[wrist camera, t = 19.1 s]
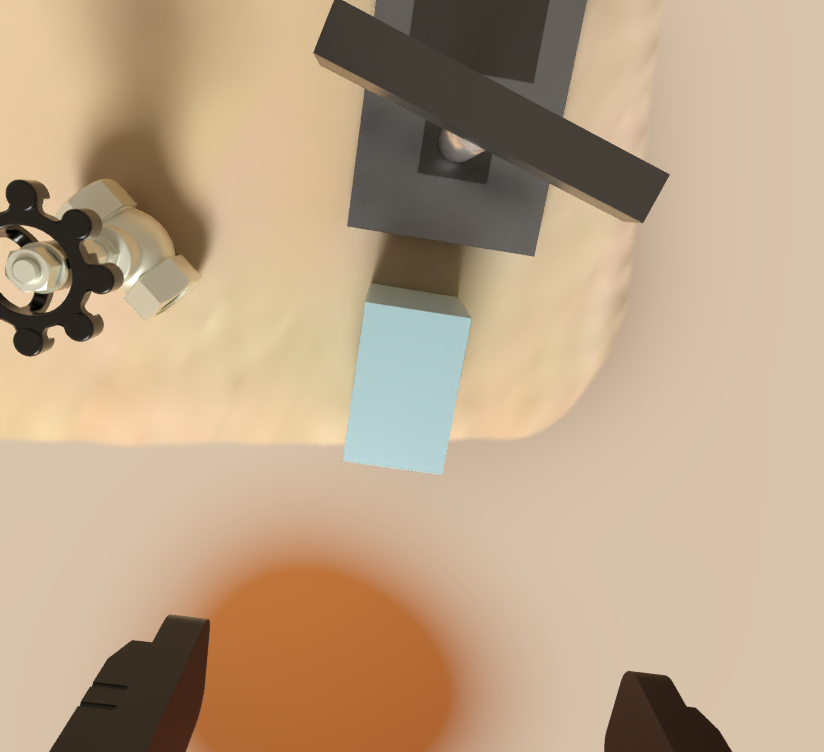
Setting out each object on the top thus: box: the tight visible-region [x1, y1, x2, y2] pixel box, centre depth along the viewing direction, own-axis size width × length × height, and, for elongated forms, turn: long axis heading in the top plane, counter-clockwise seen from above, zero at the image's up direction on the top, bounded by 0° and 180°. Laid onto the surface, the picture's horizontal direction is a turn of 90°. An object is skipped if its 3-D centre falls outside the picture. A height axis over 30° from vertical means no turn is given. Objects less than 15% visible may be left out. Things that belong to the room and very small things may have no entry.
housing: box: [347, 0, 587, 256], centre depth 32 cm, size 10×18×2 cm, turn 171°
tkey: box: [313, 0, 669, 223], centre depth 27 cm, size 2×12×11 cm, turn 65°
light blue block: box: [343, 283, 471, 475], centre depth 34 cm, size 5×8×7 cm, turn 171°
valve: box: [0, 179, 201, 357], centre depth 30 cm, size 7×7×12 cm
